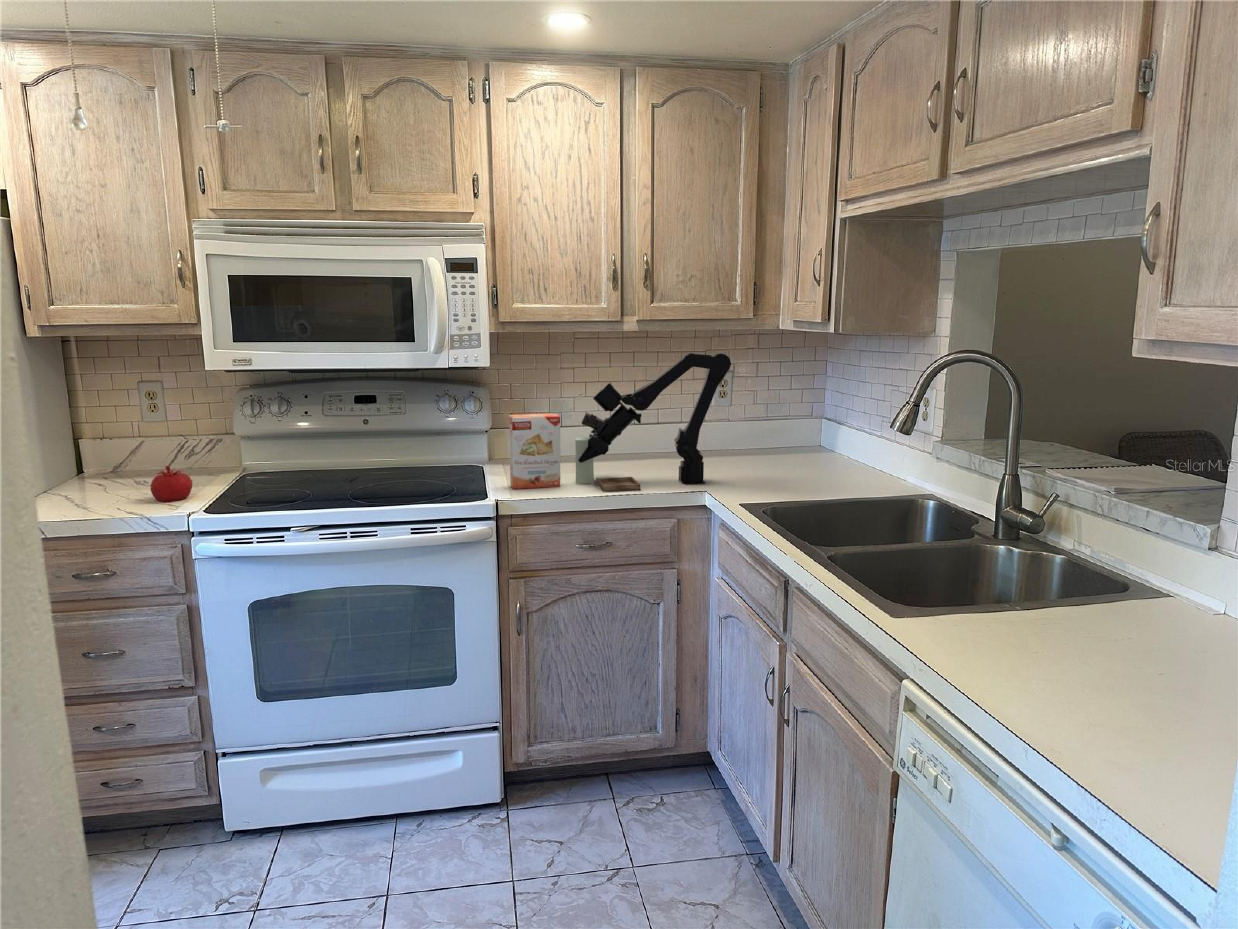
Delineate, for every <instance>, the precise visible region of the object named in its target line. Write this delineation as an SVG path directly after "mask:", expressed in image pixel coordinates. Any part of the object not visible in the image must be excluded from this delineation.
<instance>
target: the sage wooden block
mask: <svg viewBox="0 0 1238 929" xmlns="http://www.w3.org/2000/svg"><path fill="white" fill-rule="evenodd" d="M588 438H590V437H588V436H587V437H586V436H585V437H580V436H579V437H575V439H574V440H575V484H576V483H593V484H594V481H595V480H594V478H595V475H594V473H595V471H594V469H595V468H594V458H592V459H589V460H587V461H584V462H582V463H580V462H579V461H578V460H579V458H580V457H581V455H582V454H583V453H584V451H585V450H586V448H587V447H588ZM593 480H594V481H593Z"/></svg>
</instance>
